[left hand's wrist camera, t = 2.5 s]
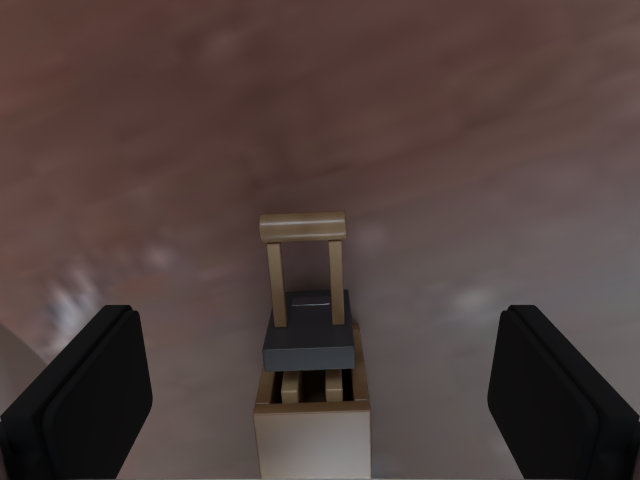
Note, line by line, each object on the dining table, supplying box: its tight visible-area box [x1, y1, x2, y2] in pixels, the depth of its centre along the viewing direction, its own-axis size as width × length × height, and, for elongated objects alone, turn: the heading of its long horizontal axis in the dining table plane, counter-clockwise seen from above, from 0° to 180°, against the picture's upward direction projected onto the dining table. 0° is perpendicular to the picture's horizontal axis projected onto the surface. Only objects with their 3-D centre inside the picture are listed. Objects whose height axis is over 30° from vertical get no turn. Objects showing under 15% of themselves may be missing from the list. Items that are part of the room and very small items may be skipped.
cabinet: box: [253, 324, 372, 479], centre depth 26 cm, size 16×5×7 cm, turn 3°
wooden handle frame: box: [259, 211, 355, 403], centre depth 24 cm, size 20×4×6 cm, turn 3°
